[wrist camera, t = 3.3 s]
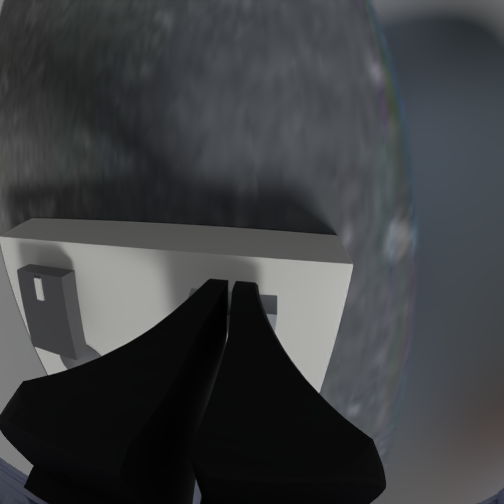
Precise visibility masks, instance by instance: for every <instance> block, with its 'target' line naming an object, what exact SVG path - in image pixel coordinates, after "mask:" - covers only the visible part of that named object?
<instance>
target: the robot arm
mask: <svg viewBox="0 0 504 504" xmlns="http://www.w3.org/2000/svg"><path fill="white" fill-rule="evenodd" d="M228 281H229V280H222V279H209V280H207V281H206V282H205V283H204V284H203V285H202V286H201V287H200V288H199V289H198V290H197V291H195V292H194V293H193V294H192V295H191V296H190V297H189V298H188V299H187V300H186V301H184V302H183V303H182V304H181V305H180V306H179V307H178V308H176V309H175V310H174V311H173V312H172V313H171V314H169V315H168V316H167V317H165V318H164V319H163V320H161V321H160V322H159V323H158V324H156V325H155V326H154V327H152V328H151V329H149V330H148V331H146V332H145V333H143V334H142V335H140V336H138V337H137V338H135V339H133V340H132V341H130V342H128V343H127V344H125V345H123V346H121V347H119V348H117V349H115V350H113V351H111V352H109V353H107V354H105V355H103V356H101V357H99V358H96V359H94V360H92V361H89V362H87V363H84V364H82V365H79V366H76V367H73V368H71V369H68V370H65V371H62V372H59V373H55V374H51V375H47V376H44V377H40V378H36V379H32V380H27V381H23V382H22V384H21V385H20V386H19V388H18V389H17V391H16V392H15V393H14V395H13V397H12V398H11V399H10V401H9V402H8V404H7V405H6V407H5V408H4V410H3V412H2V413H1V414H0V430H1V432H2V433H3V435H4V436H5V437H6V438H7V440H8V441H9V442H10V443H11V444H12V445H13V446H14V447H15V448H16V449H17V450H18V451H19V452H20V453H21V454H22V455H23V456H24V457H25V458H26V459H27V460H28V461H29V462H30V463H31V464H33V465H34V467H33V468H32V470H31V472H30V474H29V476H27V475H26V474H24V473H22V472H21V471H19V470H18V469H16V468H15V467H13V466H11V465H10V464H8V463H7V462H6V461H4V460H3V459H1V458H0V504H370V503H371V502H372V501H373V500H375V499H376V498H377V497H378V496H379V495H380V494H381V493H382V492H383V491H384V490H385V488H386V480H385V473H384V469H383V465H382V462H381V459H380V457H379V454H378V451H377V449H376V446H375V444H374V441H373V439H371V438H370V437H369V436H367V435H366V434H365V433H363V432H362V431H361V430H359V429H358V428H357V427H355V426H354V425H353V424H351V423H350V422H349V421H348V420H346V419H345V418H344V417H343V416H342V415H341V414H339V413H338V412H337V411H336V410H335V409H334V408H333V407H332V406H331V405H330V404H329V403H328V402H327V401H326V400H325V399H324V398H323V397H322V396H321V395H320V394H319V393H318V392H317V391H316V389H315V388H314V387H313V386H312V385H311V384H310V383H309V382H308V381H307V380H306V378H305V377H304V376H303V375H302V373H301V372H300V371H299V370H298V368H297V367H296V366H295V364H294V363H293V361H292V360H291V359H290V357H289V356H288V354H287V353H286V351H285V350H284V348H283V346H282V345H281V343H280V341H279V339H278V338H277V336H276V334H275V332H274V330H273V328H272V326H271V324H270V322H269V320H268V317H267V315H266V313H265V310H264V308H263V305H262V302H261V299H260V295H259V289H258V285H257V284H256V283H255V282H245V281H236V282H235V284H234V287H233V289H232V297H231V308H230V320H229V331H228V337H227V309H228ZM226 339H227V342H226ZM477 504H504V488H503V489H502V490H500V491H499V492H498V493H497V494H496V495H494V496H492V497H490V498H488V499H486V500H484V501H482V502H480V503H477Z"/></svg>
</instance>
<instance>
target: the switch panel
mask: <svg viewBox="0 0 504 504" xmlns="http://www.w3.org/2000/svg"><path fill="white" fill-rule="evenodd" d="M0 244H1V249H2V253H3V257H4V261H5V264H6V268H7V272H8V275H9V278H10V282H11V285H12V288H13V291H14V294H15V297H16V300H17V303H18V306H19V309H20V312H21V314H22V317H23V320H24V322H25V325H26V327H27V330H28V332H29V329H28V325H27V321H26V316H25V312H24V307H23V303H22V298H21V292H20V287H19V281H18V275H17V269H19V268H22V267H24V266H26V265H28V264H34V265H41V266H48V267H55V268H61V269H69V270H75V278H76V286H77V294H78V301H79V307H80V314H81V320H82V325H83V330H84V336H85V341H86V345H87V351H86V352H85V353H84V354H83V355H82V356H81V357H80V358H79V359H78V360H74V359H71V358H67V357H64V356H61V355H58V354H55V353H52V352H49V351H46V350H43V349H40V348H37V347H35V349H36V351H37V353H38V355H39V357H40V359H41V362H42V364H43V366H44V368H45V370H46V372H47V374H48V375H51V374H55V373H59V372H62V371H65V370H68V369H71V368H73V367H76V366H79V365H82V364H84V363H87V362H89V361H92V360H94V359H96V358H99V357H101V356H103V355H105V354H107V353H109V352H111V351H113V350H115V349H117V348H119V347H121V346H123V345H125V344H127V343H128V342H130V341H132V340H133V339H135V338H137V337H138V336H140V335H142V334H143V333H145V332H146V331H148V330H149V329H151V328H152V327H154V326H155V325H156V324H158V323H159V322H160V321H161V320H163V319H164V318H165V317H167V316H168V315H169V314H171V313H172V312H173V311H174V310H175V309H176V308H178V307H179V306H180V305H181V304H182V303H183V302H184V301H186V300H187V298H188V296H189V293H190V291H191V288H195V289H199V288H200V287H201V286H202V285H203V284H204V283H205V282H206V281H207V280H209V279H222V280H229V281H228V292H232V289H233V287H234V284H235V282H236V281H245V282H255V283H256V284H257V285H258V289H259V294H264V295H277V320H276V327H275V334H276V336H277V338H278V339H279V341H280V343H281V345H282V346H283V348H284V350H285V351H286V353H287V354H288V356H289V357H290V359H291V360H292V361H293V363H294V364H295V366H296V367H297V368H298V370H299V371H300V372H301V373H302V375H303V376H304V377H305V378H306V380H307V381H308V382H309V383H310V384H311V385H312V386H313V387H314V388H315V389H316V391H317V392H318V393H319V392H320V389H321V386H322V383H323V380H324V376H325V373H326V370H327V367H328V363H329V360H330V357H331V353H332V350H333V346H334V343H335V339H336V335H337V332H338V328H339V324H340V320H341V316H342V312H343V308H344V304H345V300H346V296H347V292H348V287H349V283H350V278H351V274H352V269H353V262H352V261H351V259H350V257H349V255H348V253H347V251H346V249H345V247H344V246H343V244H342V242H341V240H340V238H339V237H338V235H326V234H314V233H302V232H289V231H276V230H263V229H249V228H234V227H219V226H203V225H186V224H169V223H150V222H129V221H106V220H80V219H49V218H31V219H29V220H27V221H25V222H24V223H22V224H20V225H18V226H16V227H15V228H13V229H11V230H9V231H7V232H6V233H4V234H2V235H1V236H0ZM29 335H30V333H29ZM30 337H31V336H30Z"/></svg>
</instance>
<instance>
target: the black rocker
mask: <svg viewBox="0 0 504 504" xmlns="http://www.w3.org/2000/svg"><path fill="white" fill-rule="evenodd" d="M17 275H18V281H19V287H20V292H21V298H22V303H23V307H24V312H25V316H26V321H27V325H28V329H29V333H30V336H31V340H32V344H33V346H34V347H37V348H40V349H43V350H46V351H49V352H52V353H55V354H58V355H61V356H64V357H67V358H71V359H74V360H78V359H79V358H80V357H81V356H82V355H83V354H84V353H85V352H86V351H87V345H86V341H85V336H84V330H83V325H82V320H81V314H80V307H79V301H78V294H77V286H76V278H75V270H69V269H61V268H55V267H48V266H41V265H34V264H28V265H26V266H24V267H22V268H19V269H17Z"/></svg>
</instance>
